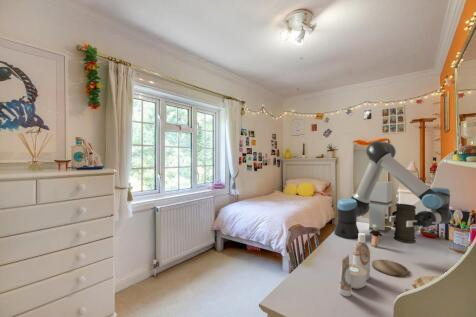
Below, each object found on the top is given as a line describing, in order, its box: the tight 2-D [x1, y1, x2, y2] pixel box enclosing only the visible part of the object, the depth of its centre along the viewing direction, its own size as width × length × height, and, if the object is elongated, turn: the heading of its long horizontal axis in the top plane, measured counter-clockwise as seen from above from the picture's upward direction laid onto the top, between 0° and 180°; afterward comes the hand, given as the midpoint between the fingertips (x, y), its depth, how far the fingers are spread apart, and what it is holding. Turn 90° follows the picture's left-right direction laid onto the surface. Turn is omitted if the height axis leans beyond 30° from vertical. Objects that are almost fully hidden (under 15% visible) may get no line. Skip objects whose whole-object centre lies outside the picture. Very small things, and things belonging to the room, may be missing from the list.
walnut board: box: [371, 259, 409, 278], centre depth 109 cm, size 14×14×1 cm
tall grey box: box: [368, 180, 393, 235], centre depth 166 cm, size 11×11×35 cm
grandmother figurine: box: [368, 225, 384, 249], centre depth 136 cm, size 8×4×13 cm, turn 47°
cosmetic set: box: [338, 232, 371, 297], centre depth 95 cm, size 25×9×19 cm, turn 135°
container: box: [393, 203, 417, 245], centre depth 118 cm, size 9×9×18 cm
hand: (398, 221), depth 116 cm, fingers closed on container, 8 cm apart
